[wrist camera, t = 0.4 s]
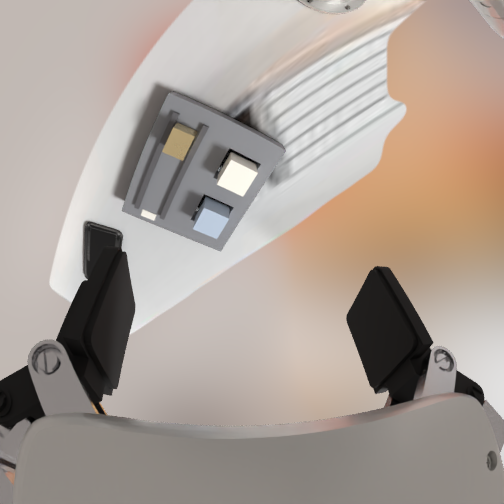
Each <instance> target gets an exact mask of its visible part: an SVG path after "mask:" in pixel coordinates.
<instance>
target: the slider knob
mask: <svg viewBox="0 0 504 504" xmlns="http://www.w3.org/2000/svg"><path fill="white" fill-rule="evenodd" d="M197 132H198V131H196V130H193V129H191V128H189V127H187V126H184V125H182V124H180V123H177V124H176V125H175V126H174V127H173V129H172V131H171V133H170V135H169V138H168V140H167V142H166V144H165V146H164V149H163V151H162V152H163V153H166V154H168V155H170V156H173V157H175V158H177V159H180V160H182V161H183V160H184V157H185V155H186V153H187V151H188V149H189V147H190V145H191V143H192V141H193V139H194V138H195V136H196V134H197Z"/></svg>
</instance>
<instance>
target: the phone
mask: <svg viewBox="0 0 504 504" xmlns="http://www.w3.org/2000/svg"><path fill="white" fill-rule="evenodd" d="M122 239H123V234H122V233H121V232H120V231H119V230H116V229H112V228H109V227H106V226H103V225H99V224H96V223H93V222H89V223H88V224H87V225H86V226H85V249H84V270H85V277H86V278H87V279H88V278H89V276H90V274H91V272H92V270H93V268H94V266H95V264H96V262H97V260H98V259H99V257H100V255H101V253H102V251H103V249H104V248H105V247H106V246H110V247H120V248H121V247H122Z"/></svg>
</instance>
